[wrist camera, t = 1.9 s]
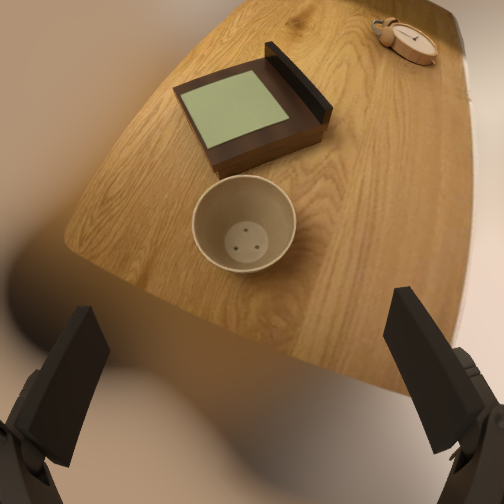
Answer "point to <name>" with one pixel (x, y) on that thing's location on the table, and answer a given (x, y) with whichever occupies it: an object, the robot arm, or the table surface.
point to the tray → (253, 112)
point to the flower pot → (244, 223)
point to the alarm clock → (406, 41)
